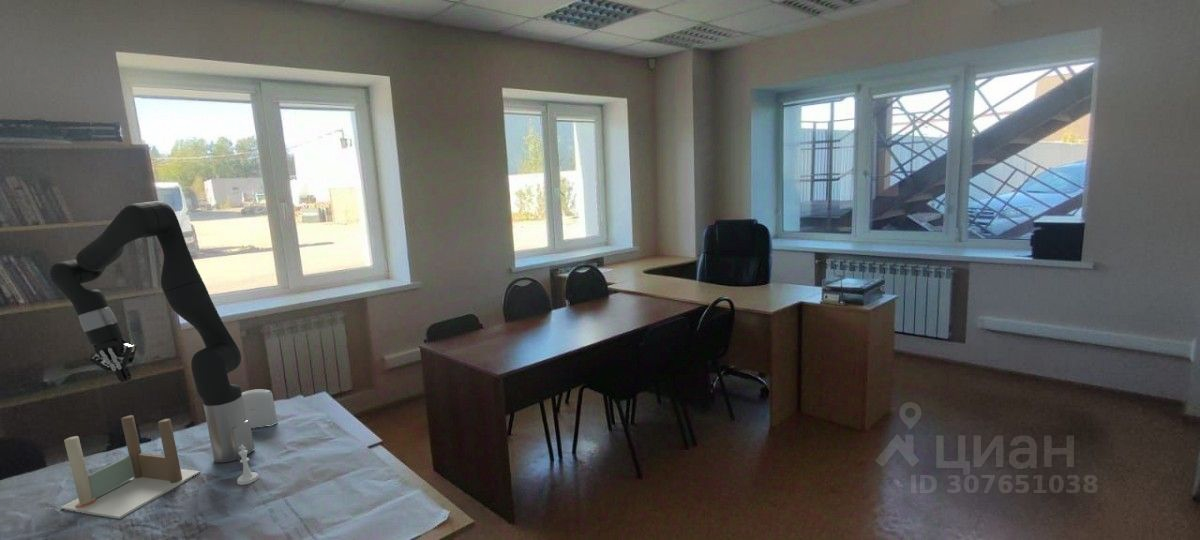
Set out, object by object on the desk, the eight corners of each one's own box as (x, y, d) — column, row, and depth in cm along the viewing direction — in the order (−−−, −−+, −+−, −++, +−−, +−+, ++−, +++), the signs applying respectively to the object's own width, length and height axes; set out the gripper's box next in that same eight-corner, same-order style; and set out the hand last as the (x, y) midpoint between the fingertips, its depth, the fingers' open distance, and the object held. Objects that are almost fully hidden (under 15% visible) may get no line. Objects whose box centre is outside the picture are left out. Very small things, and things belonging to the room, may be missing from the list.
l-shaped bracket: (129, 476, 151) (116, 417, 148) (137, 477, 150) (124, 418, 147) (76, 504, 139) (61, 440, 136) (84, 505, 138) (69, 441, 135)
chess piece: (248, 485, 146) (242, 450, 144) (232, 484, 147) (226, 449, 145) (263, 475, 150) (257, 440, 149) (247, 474, 151) (241, 439, 150)
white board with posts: (200, 473, 153) (188, 413, 150) (119, 518, 134) (104, 451, 130) (145, 466, 158) (133, 408, 155) (60, 509, 139) (44, 444, 136)
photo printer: (239, 431, 178) (233, 394, 176) (245, 425, 182) (239, 389, 180) (274, 427, 180) (268, 390, 177) (279, 421, 184) (273, 385, 181)
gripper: (67, 336, 157) (94, 392, 160) (110, 322, 157) (137, 378, 159) (90, 329, 164) (116, 382, 167) (132, 316, 164) (157, 370, 167)
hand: (126, 380), depth 163 cm, fingers closed
